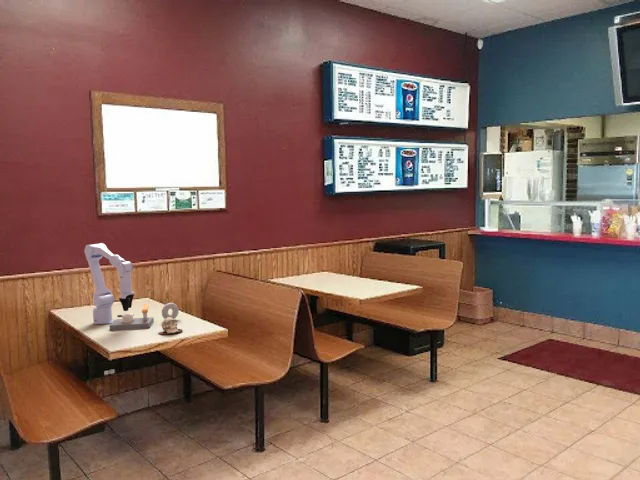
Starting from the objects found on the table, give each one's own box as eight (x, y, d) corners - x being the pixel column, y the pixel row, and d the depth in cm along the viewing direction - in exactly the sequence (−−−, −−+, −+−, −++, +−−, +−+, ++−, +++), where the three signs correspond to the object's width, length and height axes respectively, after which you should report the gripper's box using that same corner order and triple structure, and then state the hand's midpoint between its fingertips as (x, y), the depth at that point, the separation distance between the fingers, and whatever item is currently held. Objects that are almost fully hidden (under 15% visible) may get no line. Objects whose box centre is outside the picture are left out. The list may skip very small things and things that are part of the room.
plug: (117, 327, 292) (116, 315, 291) (119, 325, 297) (118, 313, 296) (132, 327, 293) (131, 315, 292) (134, 324, 298) (133, 313, 297)
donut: (164, 322, 301) (163, 304, 300) (160, 321, 303) (159, 303, 302) (180, 319, 308) (179, 301, 307) (176, 318, 310) (176, 300, 309)
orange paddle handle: (143, 307, 310) (143, 304, 309) (149, 306, 310) (148, 303, 310) (141, 313, 294) (141, 310, 294) (147, 312, 295) (147, 310, 294)
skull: (188, 329, 280) (175, 317, 275) (175, 346, 276) (161, 334, 270) (177, 325, 289) (165, 313, 284) (164, 340, 285) (151, 329, 280)
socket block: (109, 330, 287) (108, 317, 287) (116, 323, 301) (115, 311, 301) (149, 328, 290) (148, 315, 289) (153, 321, 304) (153, 309, 303)
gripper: (130, 286, 286) (132, 311, 288) (136, 281, 301) (138, 306, 302) (116, 286, 285) (118, 312, 287) (123, 282, 300) (124, 306, 301)
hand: (127, 309), depth 294 cm, fingers open, 7 cm apart
